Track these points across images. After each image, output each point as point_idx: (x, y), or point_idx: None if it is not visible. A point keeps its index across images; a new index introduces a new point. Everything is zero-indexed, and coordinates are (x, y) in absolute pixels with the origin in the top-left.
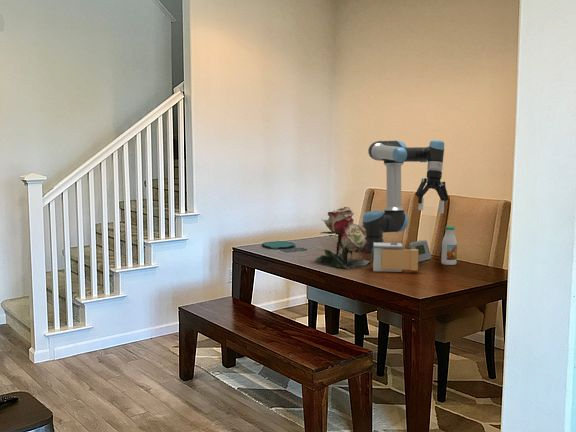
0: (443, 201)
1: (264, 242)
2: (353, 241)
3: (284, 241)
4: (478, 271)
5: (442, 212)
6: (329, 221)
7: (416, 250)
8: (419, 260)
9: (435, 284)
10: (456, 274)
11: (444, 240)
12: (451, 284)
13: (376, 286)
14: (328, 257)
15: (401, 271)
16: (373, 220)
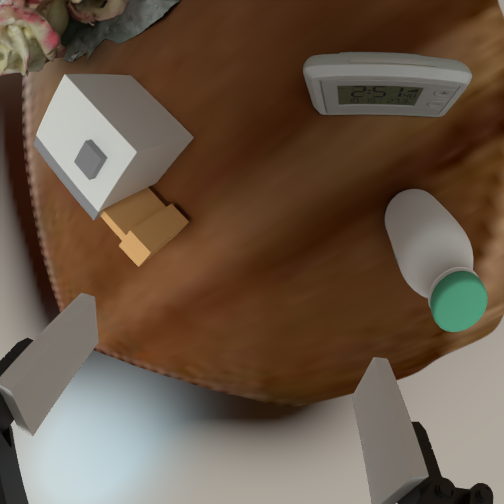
0: (374, 501)
1: None
2: (10, 69)
3: None
4: (360, 342)
5: (355, 402)
6: None
7: (133, 261)
8: (344, 114)
9: (140, 323)
10: (270, 317)
11: (406, 252)
12: (170, 347)
13: (43, 244)
14: None
15: (155, 182)
16: None
